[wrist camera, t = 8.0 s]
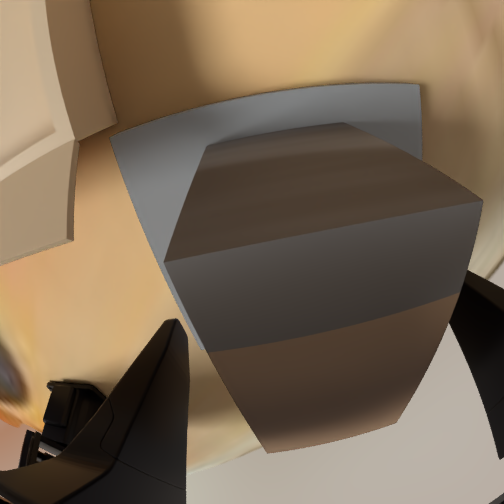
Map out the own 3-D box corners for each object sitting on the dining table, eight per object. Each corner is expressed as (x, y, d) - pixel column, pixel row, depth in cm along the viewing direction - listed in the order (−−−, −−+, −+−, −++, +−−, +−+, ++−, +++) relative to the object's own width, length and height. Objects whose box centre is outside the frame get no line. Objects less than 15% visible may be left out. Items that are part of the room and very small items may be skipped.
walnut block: (349, 302, 14) (396, 423, 8) (254, 322, 14) (267, 453, 9) (343, 122, 9) (483, 200, 3) (206, 145, 10) (163, 262, 4)
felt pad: (397, 296, 16) (403, 307, 15) (201, 336, 16) (201, 349, 16) (406, 83, 9) (419, 84, 8) (118, 132, 10) (109, 137, 9)
